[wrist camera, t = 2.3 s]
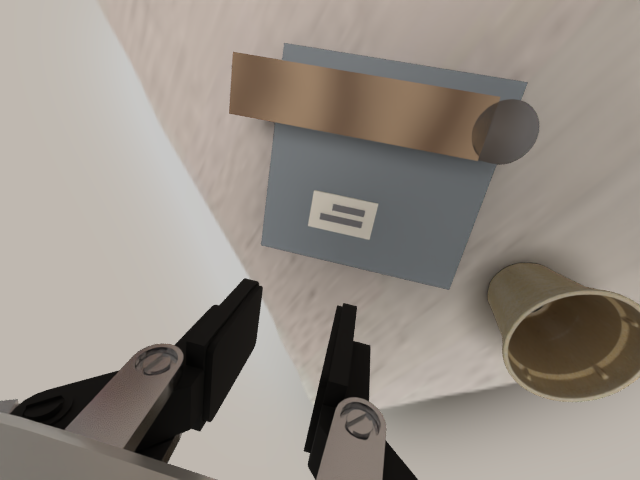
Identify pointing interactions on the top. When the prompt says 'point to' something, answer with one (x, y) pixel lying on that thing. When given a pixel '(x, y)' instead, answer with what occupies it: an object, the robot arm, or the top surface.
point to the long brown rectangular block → (383, 109)
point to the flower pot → (564, 334)
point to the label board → (376, 185)
